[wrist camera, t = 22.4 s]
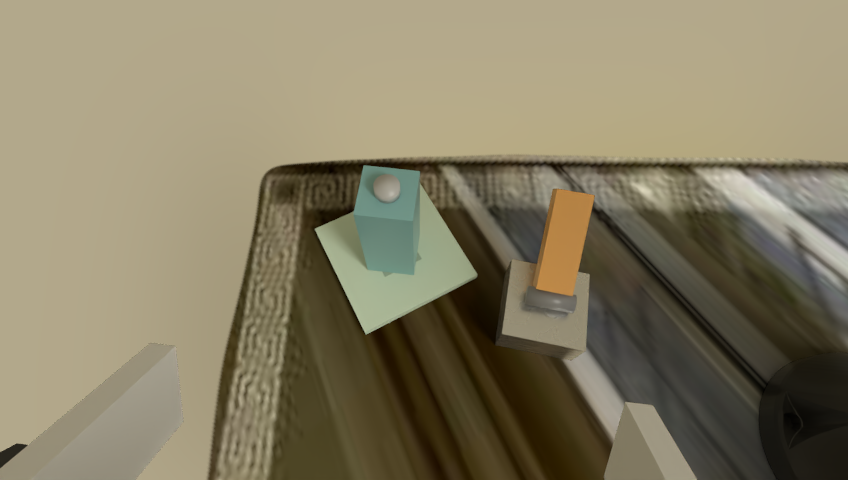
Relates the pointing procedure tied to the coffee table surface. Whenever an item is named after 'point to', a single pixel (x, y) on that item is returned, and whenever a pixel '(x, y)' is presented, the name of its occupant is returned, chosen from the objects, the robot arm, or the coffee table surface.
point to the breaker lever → (561, 251)
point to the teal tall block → (389, 218)
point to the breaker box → (540, 317)
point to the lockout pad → (393, 292)
